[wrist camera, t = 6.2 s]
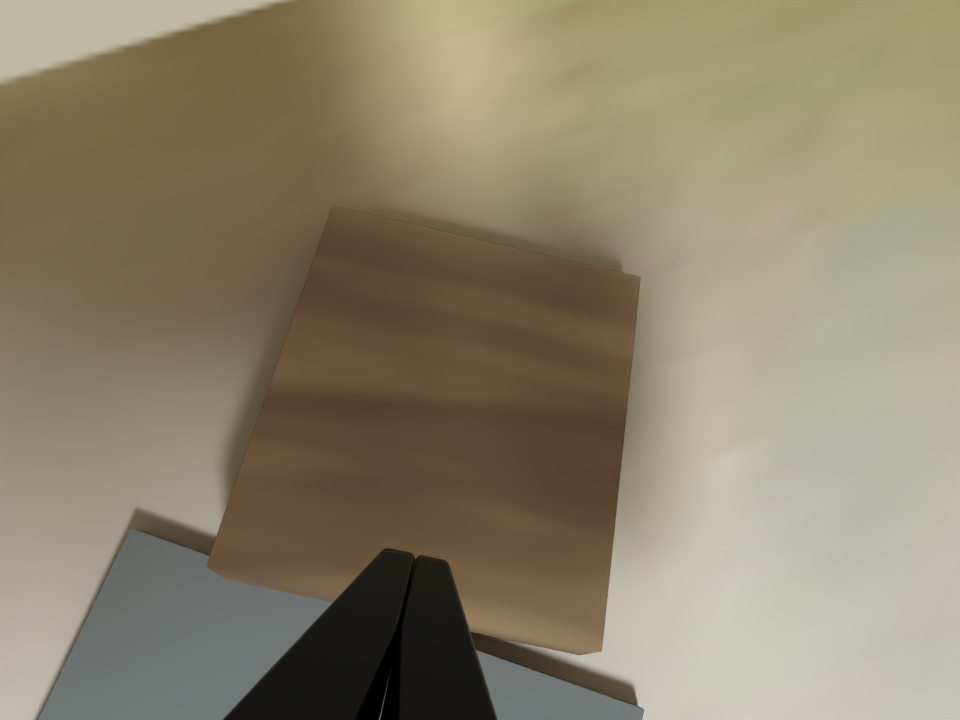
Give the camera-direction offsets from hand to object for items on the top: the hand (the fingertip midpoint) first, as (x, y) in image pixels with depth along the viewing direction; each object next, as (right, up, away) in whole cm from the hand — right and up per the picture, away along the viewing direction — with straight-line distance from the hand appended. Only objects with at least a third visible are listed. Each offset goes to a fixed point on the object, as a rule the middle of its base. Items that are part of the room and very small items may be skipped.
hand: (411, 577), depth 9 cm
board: (-1, -3, +6) cm, 6 cm away
